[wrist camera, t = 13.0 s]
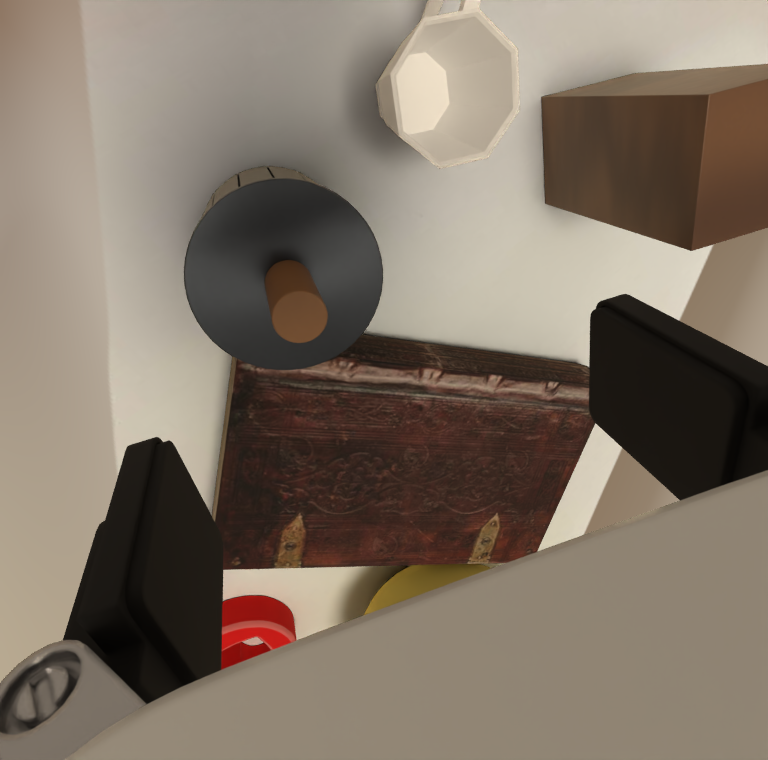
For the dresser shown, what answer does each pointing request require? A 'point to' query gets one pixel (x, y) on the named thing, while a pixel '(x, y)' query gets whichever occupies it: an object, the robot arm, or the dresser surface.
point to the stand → (663, 153)
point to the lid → (283, 273)
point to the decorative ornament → (254, 627)
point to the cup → (451, 85)
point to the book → (397, 457)
